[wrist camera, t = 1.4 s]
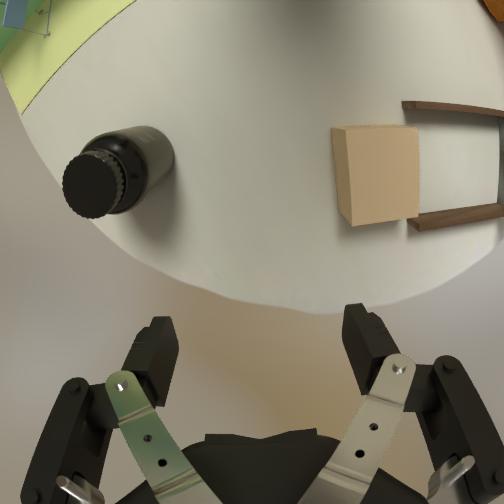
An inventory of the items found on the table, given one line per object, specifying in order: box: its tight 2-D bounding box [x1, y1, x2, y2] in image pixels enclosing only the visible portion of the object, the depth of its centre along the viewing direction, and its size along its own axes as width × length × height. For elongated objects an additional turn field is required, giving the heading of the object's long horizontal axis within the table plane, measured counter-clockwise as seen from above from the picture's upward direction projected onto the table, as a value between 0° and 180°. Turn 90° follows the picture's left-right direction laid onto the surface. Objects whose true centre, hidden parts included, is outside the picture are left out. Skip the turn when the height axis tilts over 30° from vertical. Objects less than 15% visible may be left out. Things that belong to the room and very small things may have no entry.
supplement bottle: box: [62, 126, 173, 219], centre depth 22 cm, size 7×7×12 cm
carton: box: [331, 125, 419, 226], centre depth 26 cm, size 9×8×5 cm
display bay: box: [402, 101, 504, 232], centre depth 22 cm, size 14×18×12 cm
